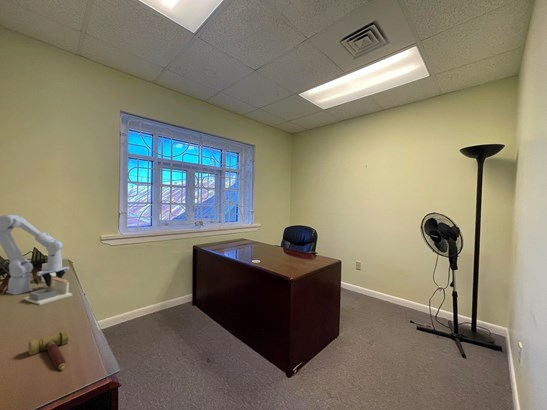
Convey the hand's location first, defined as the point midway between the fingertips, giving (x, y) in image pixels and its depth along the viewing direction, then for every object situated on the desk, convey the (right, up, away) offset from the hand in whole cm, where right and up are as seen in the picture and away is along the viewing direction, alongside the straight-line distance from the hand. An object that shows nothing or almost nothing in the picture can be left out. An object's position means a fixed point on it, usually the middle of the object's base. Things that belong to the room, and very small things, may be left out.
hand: (53, 284), depth 138 cm
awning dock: (+9, -3, -12) cm, 15 cm away
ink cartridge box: (-14, -2, +14) cm, 20 cm away
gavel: (+56, -5, -59) cm, 82 cm away
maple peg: (0, -2, 0) cm, 2 cm away
